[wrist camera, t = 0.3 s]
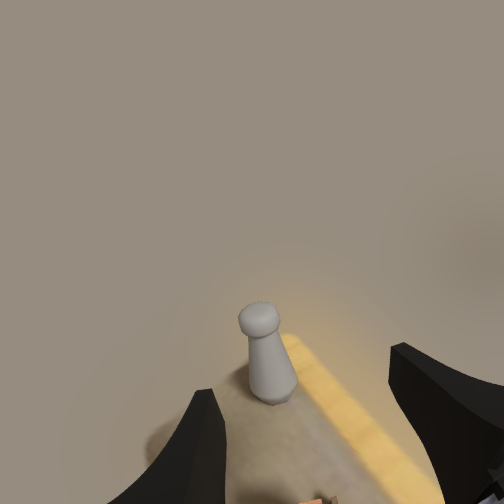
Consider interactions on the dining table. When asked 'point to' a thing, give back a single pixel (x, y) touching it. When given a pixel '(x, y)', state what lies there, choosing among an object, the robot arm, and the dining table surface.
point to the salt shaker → (267, 354)
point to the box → (334, 500)
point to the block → (313, 502)
